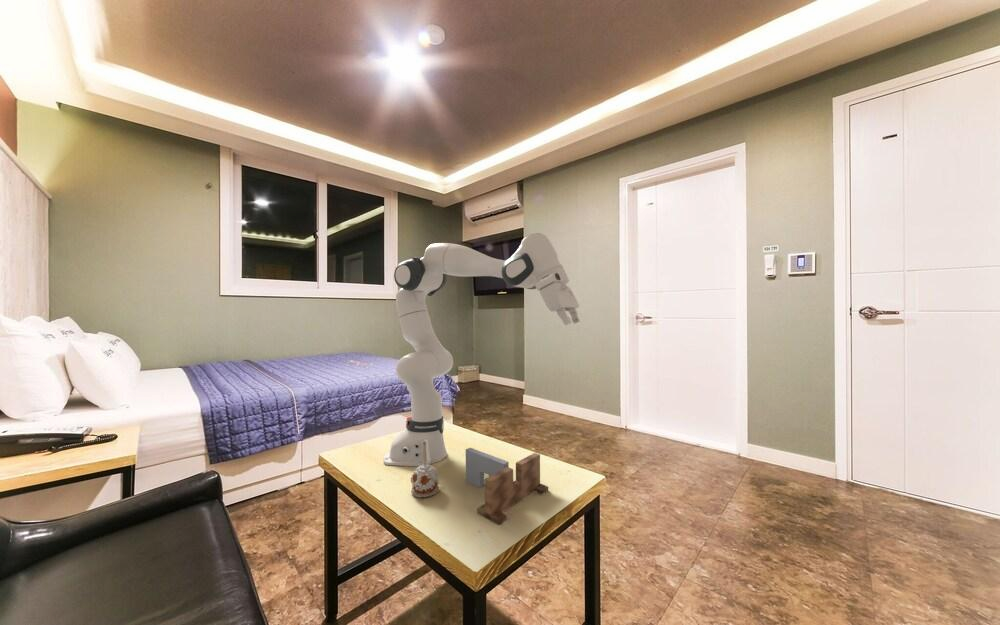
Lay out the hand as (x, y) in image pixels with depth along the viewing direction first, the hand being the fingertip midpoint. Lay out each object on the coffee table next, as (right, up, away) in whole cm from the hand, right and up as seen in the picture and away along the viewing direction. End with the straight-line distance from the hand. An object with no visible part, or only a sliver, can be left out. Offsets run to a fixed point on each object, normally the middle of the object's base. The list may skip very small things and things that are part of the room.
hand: (572, 323), depth 105 cm
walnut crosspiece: (-17, -50, -5) cm, 53 cm away
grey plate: (-26, -50, +2) cm, 56 cm away
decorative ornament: (-44, -50, 0) cm, 67 cm away
